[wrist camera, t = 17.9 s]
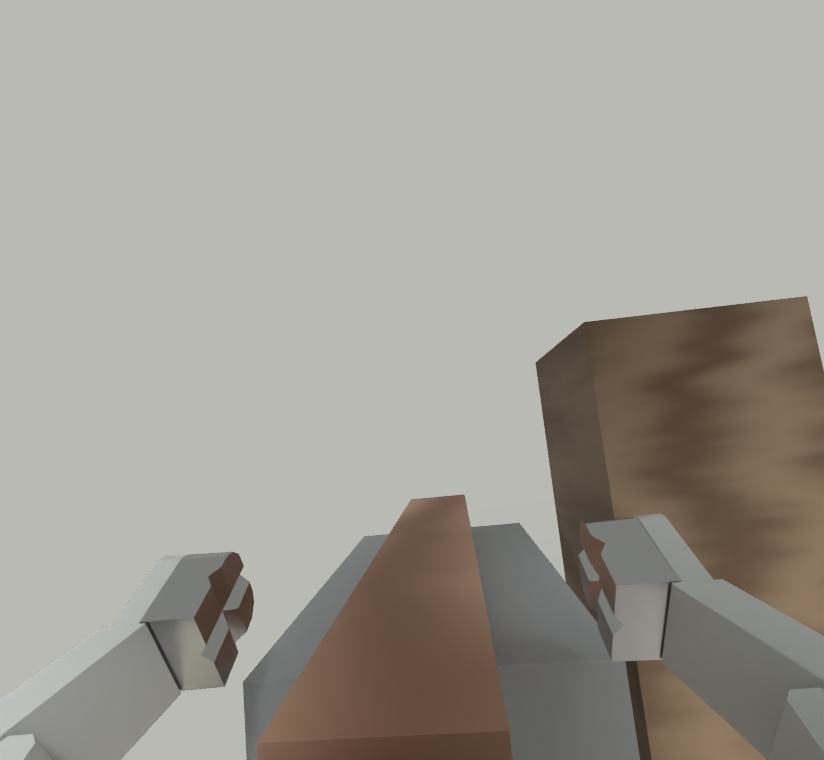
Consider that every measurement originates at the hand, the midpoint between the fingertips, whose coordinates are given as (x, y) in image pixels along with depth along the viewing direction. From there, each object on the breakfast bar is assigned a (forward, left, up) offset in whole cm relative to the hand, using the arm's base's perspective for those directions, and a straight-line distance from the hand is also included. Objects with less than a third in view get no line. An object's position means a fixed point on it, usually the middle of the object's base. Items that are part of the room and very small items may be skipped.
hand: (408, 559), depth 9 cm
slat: (0, -6, -3) cm, 7 cm away
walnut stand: (-13, -18, -19) cm, 29 cm away
